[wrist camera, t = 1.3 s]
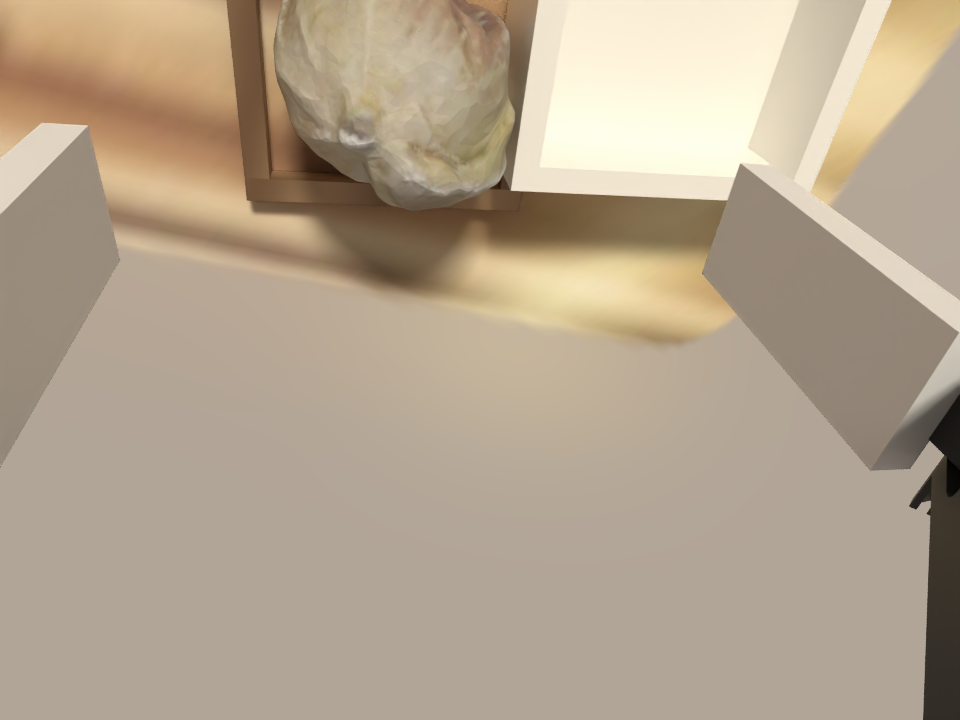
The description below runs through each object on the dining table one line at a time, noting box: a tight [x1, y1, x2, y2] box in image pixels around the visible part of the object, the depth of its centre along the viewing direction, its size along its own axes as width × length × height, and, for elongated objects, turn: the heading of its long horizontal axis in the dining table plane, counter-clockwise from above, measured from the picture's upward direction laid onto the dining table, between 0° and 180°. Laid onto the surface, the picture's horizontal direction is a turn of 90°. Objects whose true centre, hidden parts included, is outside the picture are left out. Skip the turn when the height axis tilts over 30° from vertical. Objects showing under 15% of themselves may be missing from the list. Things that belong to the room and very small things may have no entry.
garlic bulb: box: [274, 0, 515, 211], centre depth 23 cm, size 9×8×10 cm
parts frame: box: [227, 0, 522, 211], centre depth 26 cm, size 12×13×1 cm
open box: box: [503, 0, 892, 200], centre depth 25 cm, size 13×13×5 cm
